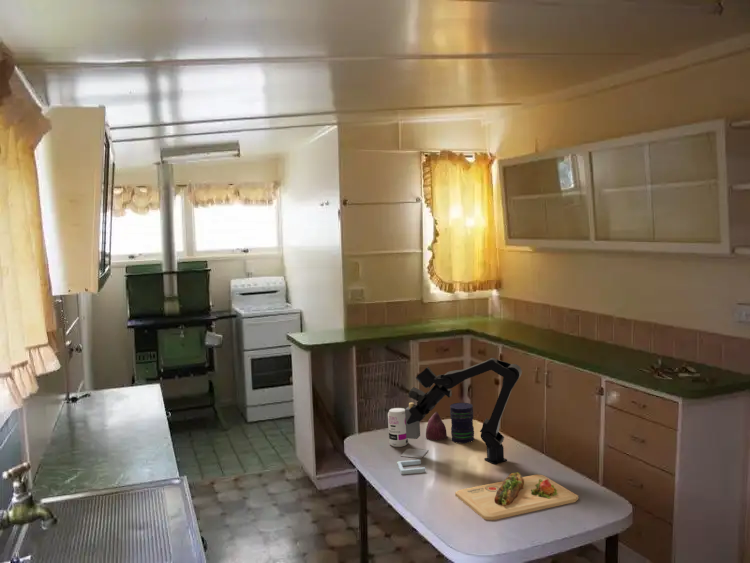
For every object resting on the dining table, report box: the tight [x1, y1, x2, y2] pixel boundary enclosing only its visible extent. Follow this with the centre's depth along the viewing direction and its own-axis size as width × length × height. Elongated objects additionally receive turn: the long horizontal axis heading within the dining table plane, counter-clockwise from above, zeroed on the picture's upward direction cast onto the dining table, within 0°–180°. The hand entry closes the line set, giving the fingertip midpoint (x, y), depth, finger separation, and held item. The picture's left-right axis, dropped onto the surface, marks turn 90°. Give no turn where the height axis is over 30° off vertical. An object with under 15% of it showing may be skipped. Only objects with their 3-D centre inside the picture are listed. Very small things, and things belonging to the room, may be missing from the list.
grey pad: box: [400, 448, 429, 459], centre depth 267 cm, size 9×9×1 cm
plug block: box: [404, 402, 421, 440], centre depth 266 cm, size 4×4×14 cm
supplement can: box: [387, 407, 409, 448], centre depth 279 cm, size 8×8×15 cm
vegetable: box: [425, 411, 448, 441], centre depth 285 cm, size 10×9×14 cm
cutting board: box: [454, 471, 579, 521], centre depth 219 cm, size 35×23×8 cm
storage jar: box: [449, 402, 475, 444], centre depth 281 cm, size 10×10×15 cm
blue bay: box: [396, 458, 426, 475], centre depth 251 cm, size 9×10×2 cm
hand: (409, 421), depth 266 cm, fingers closed on plug block, 4 cm apart
